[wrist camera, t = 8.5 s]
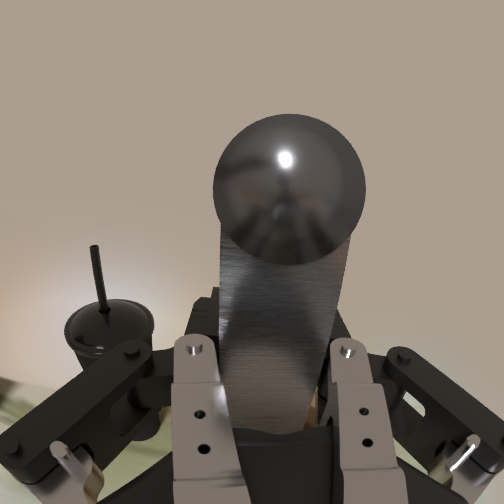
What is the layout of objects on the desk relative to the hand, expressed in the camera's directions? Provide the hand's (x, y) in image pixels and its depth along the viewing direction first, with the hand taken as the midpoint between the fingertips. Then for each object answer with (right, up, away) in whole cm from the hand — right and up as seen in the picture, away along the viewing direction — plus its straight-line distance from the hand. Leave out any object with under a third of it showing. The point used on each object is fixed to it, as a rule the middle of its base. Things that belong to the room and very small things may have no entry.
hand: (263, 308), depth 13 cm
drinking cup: (-13, -16, +13) cm, 24 cm away
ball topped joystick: (0, -10, +1) cm, 10 cm away
